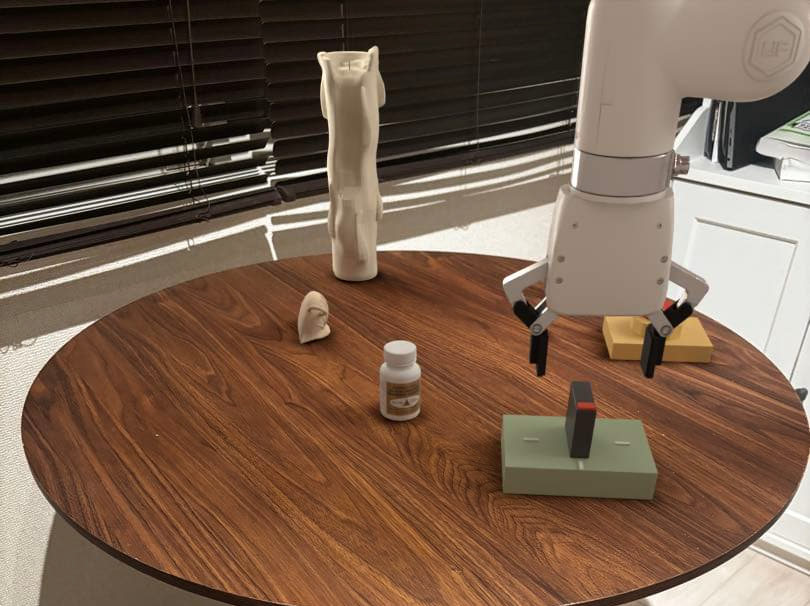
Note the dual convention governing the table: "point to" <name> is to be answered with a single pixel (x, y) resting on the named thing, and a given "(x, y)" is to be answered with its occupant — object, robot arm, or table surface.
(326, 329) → the decorative ornament
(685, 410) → the table surface
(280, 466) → the table surface
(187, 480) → the table surface
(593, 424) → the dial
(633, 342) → the button block
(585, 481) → the block
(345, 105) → the vase
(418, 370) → the pill bottle
